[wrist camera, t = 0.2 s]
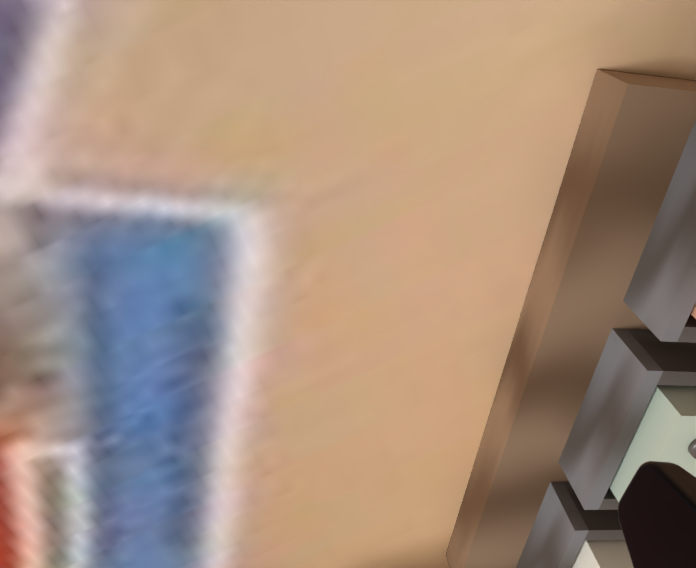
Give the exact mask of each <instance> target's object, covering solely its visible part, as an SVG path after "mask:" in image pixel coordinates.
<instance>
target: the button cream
mask: <svg viewBox="0 0 696 568" xmlns="http://www.w3.org/2000/svg"><path fill="white" fill-rule="evenodd" d="M571 568H634V567H633V564H632V561H631V558H630V554H629V551H628V548H627V545H626V542H625V540H584V542H583V544H582V546H581V548H580V550H579V552H578V555H577V557H576V559H575V561H574V563H573V565H572V567H571Z"/></svg>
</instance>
